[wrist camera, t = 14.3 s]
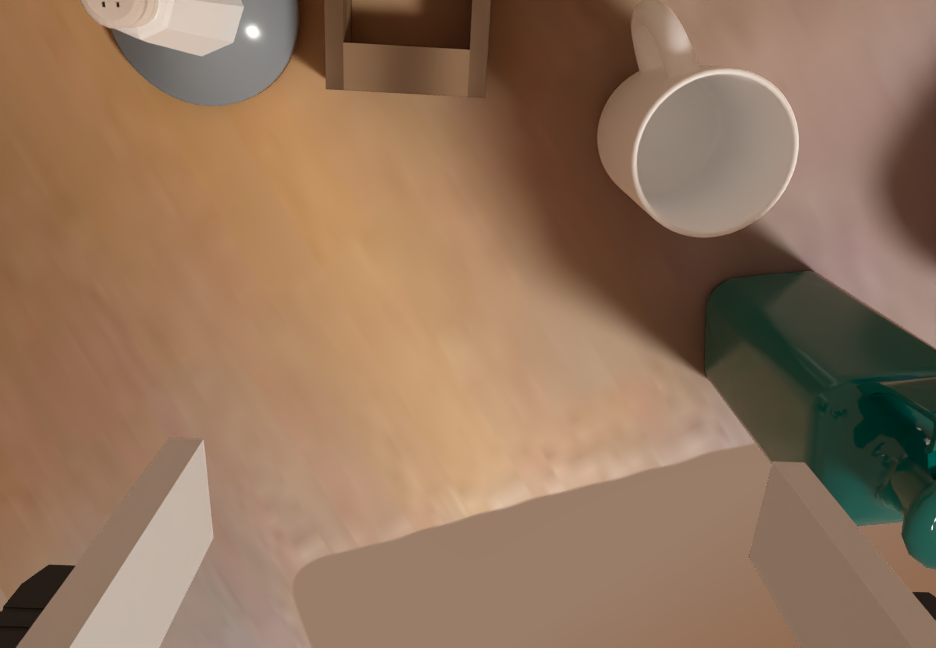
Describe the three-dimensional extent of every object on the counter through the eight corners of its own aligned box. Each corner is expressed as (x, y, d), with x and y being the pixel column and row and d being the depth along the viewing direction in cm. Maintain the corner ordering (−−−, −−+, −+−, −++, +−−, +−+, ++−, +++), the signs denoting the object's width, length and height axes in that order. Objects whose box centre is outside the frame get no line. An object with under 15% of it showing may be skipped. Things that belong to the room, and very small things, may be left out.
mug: (558, 30, 42) (588, 26, 32) (693, -24, 41) (765, -44, 32) (615, 215, 46) (655, 260, 37) (738, 170, 45) (813, 205, 36)
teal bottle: (819, 377, 51) (1061, 602, 30) (701, 388, 51) (863, 619, 31) (831, 246, 47) (1116, 402, 27) (704, 259, 47) (891, 423, 27)
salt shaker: (240, -47, 39) (164, -78, 29) (249, 57, 41) (180, 62, 31) (142, -49, 39) (31, -81, 29) (156, 55, 41) (56, 59, 31)
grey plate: (123, 99, 43) (115, 100, 42) (97, -108, 39) (88, -112, 38) (303, 109, 44) (300, 110, 43) (297, -96, 39) (293, -99, 39)
